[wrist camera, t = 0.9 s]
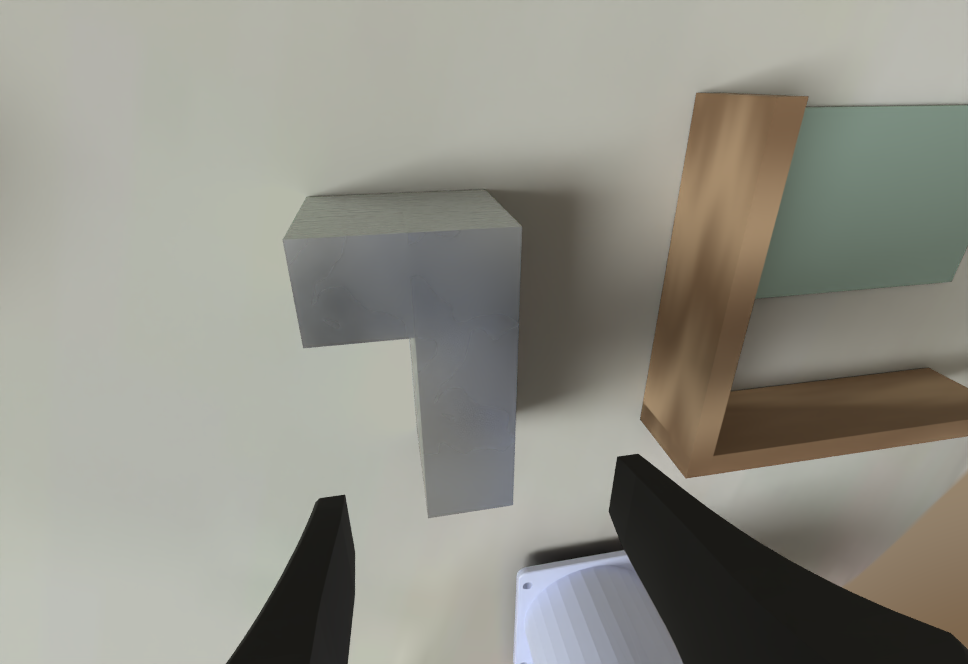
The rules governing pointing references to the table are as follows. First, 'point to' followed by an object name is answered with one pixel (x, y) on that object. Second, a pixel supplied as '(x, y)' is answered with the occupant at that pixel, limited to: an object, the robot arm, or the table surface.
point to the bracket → (425, 319)
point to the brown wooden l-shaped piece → (727, 309)
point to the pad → (871, 201)
